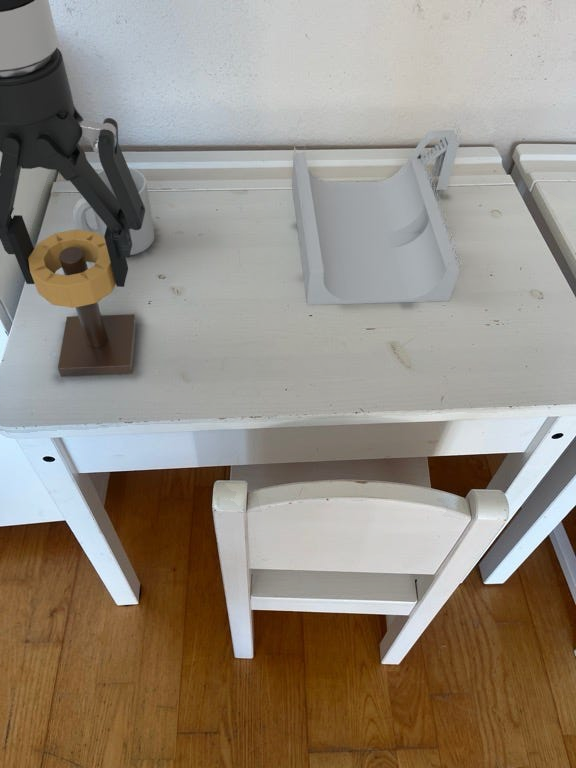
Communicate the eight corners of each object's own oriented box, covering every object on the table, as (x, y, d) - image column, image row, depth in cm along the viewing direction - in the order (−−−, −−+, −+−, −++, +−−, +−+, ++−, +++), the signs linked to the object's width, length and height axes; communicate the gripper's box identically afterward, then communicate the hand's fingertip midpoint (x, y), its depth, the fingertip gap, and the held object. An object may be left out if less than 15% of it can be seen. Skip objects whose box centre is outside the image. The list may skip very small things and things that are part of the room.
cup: (161, 249, 86) (153, 193, 78) (88, 267, 83) (72, 212, 76) (147, 217, 89) (137, 161, 82) (76, 234, 87) (59, 178, 80)
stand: (60, 376, 72) (23, 284, 60) (69, 324, 77) (36, 229, 65) (132, 373, 73) (108, 281, 61) (136, 322, 77) (115, 227, 66)
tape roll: (20, 280, 65) (11, 258, 63) (84, 241, 69) (78, 219, 67) (71, 319, 62) (63, 297, 60) (135, 276, 66) (130, 254, 64)
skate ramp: (292, 185, 95) (295, 123, 87) (439, 183, 97) (456, 122, 89) (307, 304, 80) (312, 243, 72) (481, 300, 82) (505, 239, 74)
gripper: (157, 35, 50) (184, 254, 68) (-116, 24, 49) (-15, 248, 67) (143, 83, 45) (176, 305, 63) (-157, 73, 45) (-37, 299, 63)
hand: (78, 276), depth 65 cm, fingers closed on tape roll, 8 cm apart
